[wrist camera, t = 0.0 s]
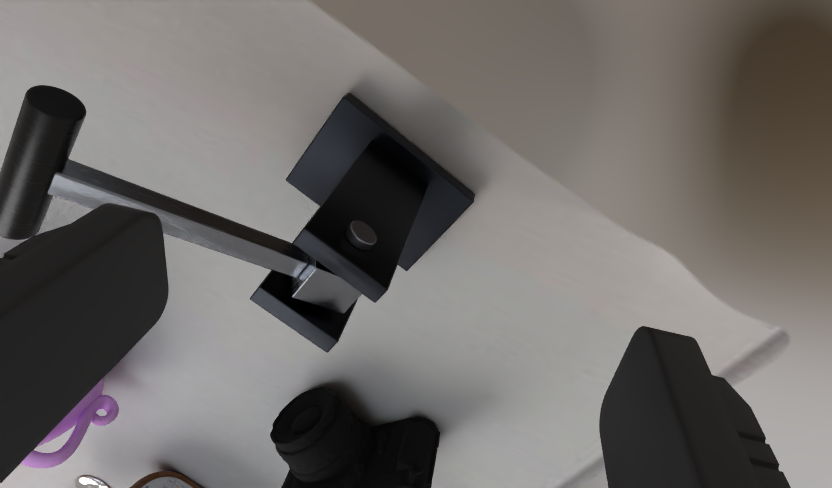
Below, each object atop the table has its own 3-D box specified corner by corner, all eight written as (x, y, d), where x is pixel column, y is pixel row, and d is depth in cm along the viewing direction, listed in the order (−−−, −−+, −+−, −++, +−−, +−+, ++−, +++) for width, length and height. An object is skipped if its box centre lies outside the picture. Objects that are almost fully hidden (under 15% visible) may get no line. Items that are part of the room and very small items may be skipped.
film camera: (400, 360, 42) (372, 454, 34) (452, 443, 45) (438, 546, 37) (251, 402, 47) (198, 491, 39) (309, 474, 50) (270, 569, 43)
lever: (-2, 195, 21) (-27, 237, 19) (39, 71, 18) (14, 108, 16) (320, 299, 28) (323, 336, 26) (386, 225, 25) (393, 261, 23)
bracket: (291, 173, 35) (187, 276, 24) (349, 91, 32) (258, 167, 21) (409, 262, 37) (362, 396, 26) (475, 194, 34) (453, 314, 23)
